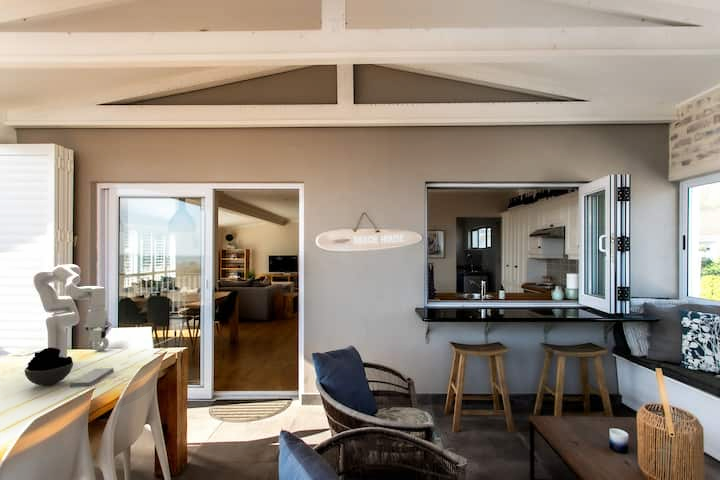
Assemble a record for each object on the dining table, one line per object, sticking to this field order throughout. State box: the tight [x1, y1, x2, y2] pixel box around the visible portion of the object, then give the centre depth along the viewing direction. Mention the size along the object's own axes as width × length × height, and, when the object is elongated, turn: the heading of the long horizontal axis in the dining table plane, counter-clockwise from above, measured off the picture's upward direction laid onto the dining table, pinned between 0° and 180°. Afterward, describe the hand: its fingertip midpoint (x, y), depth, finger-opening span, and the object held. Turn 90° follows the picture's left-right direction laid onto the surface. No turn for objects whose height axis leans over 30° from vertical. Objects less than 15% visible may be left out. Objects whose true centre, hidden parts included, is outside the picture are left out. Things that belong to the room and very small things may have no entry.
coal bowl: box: [24, 347, 74, 387], centre depth 204 cm, size 20×20×19 cm
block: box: [88, 328, 106, 342], centre depth 230 cm, size 6×6×6 cm
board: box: [69, 367, 114, 388], centre depth 212 cm, size 10×24×2 cm, turn 8°
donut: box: [91, 337, 110, 352], centre depth 271 cm, size 10×4×10 cm, turn 117°
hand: (97, 337), depth 230 cm, fingers closed on block, 6 cm apart
